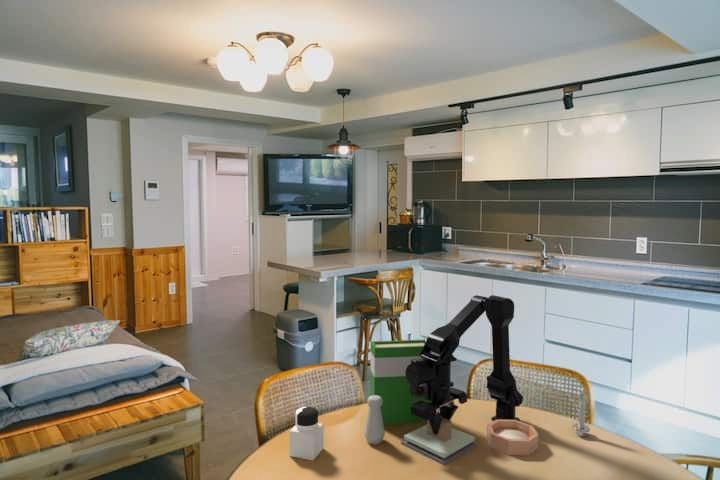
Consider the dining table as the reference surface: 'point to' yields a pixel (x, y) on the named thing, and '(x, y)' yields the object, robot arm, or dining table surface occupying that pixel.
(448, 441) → the lid
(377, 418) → the salt shaker
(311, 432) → the medicine bottle
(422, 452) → the mat
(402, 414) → the hardback book
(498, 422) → the bowl
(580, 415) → the screw
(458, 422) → the dining table surface
